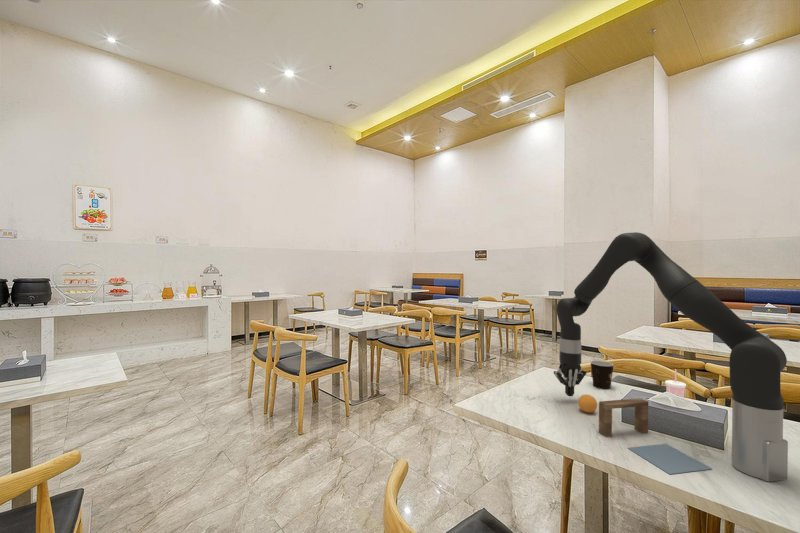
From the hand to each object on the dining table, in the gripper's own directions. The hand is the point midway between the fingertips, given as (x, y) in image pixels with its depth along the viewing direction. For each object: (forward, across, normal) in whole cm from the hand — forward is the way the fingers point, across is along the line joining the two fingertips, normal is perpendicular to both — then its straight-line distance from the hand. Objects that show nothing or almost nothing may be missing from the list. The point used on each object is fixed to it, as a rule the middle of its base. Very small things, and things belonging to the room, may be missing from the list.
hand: (569, 395), depth 137 cm
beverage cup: (+2, +35, -12) cm, 37 cm away
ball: (-1, 0, -10) cm, 10 cm away
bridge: (+2, 0, -26) cm, 26 cm away
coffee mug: (+3, +23, +12) cm, 26 cm away
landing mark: (+2, 0, -41) cm, 41 cm away
